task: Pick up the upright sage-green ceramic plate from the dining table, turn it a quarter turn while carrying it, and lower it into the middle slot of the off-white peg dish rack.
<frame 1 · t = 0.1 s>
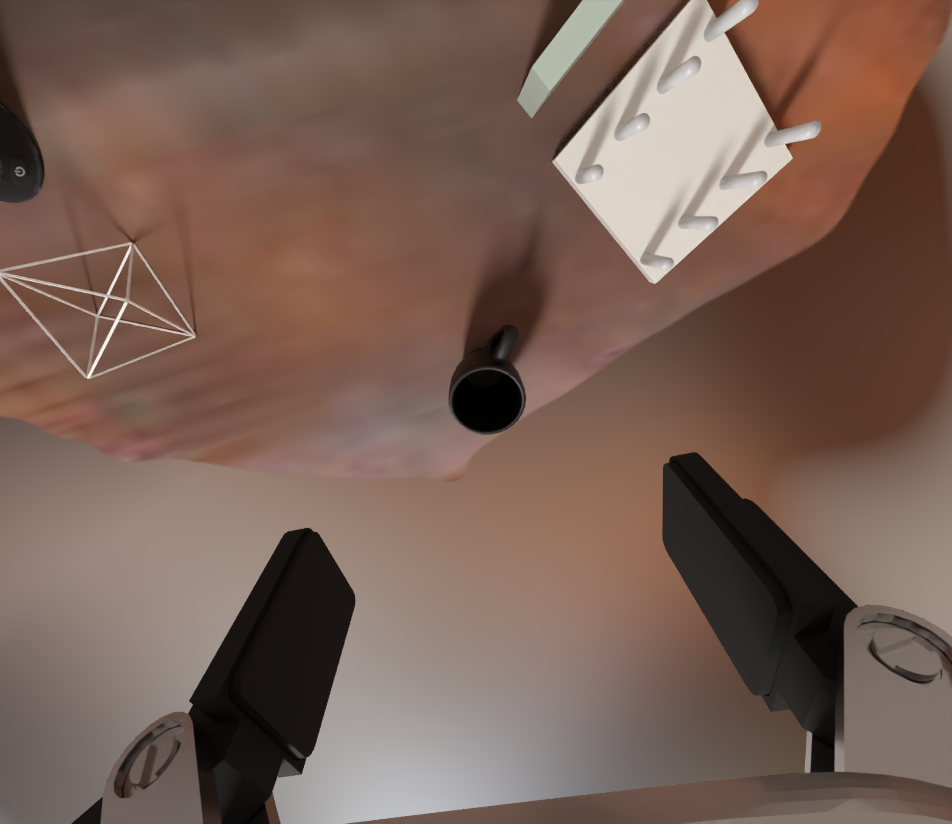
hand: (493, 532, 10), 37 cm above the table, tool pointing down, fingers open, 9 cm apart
dish rack: (667, 160, 37), on the table
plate: (581, 36, 33), on the table
mug: (488, 355, 47), on the table
geometric polyhedron: (145, 299, 43), on the table
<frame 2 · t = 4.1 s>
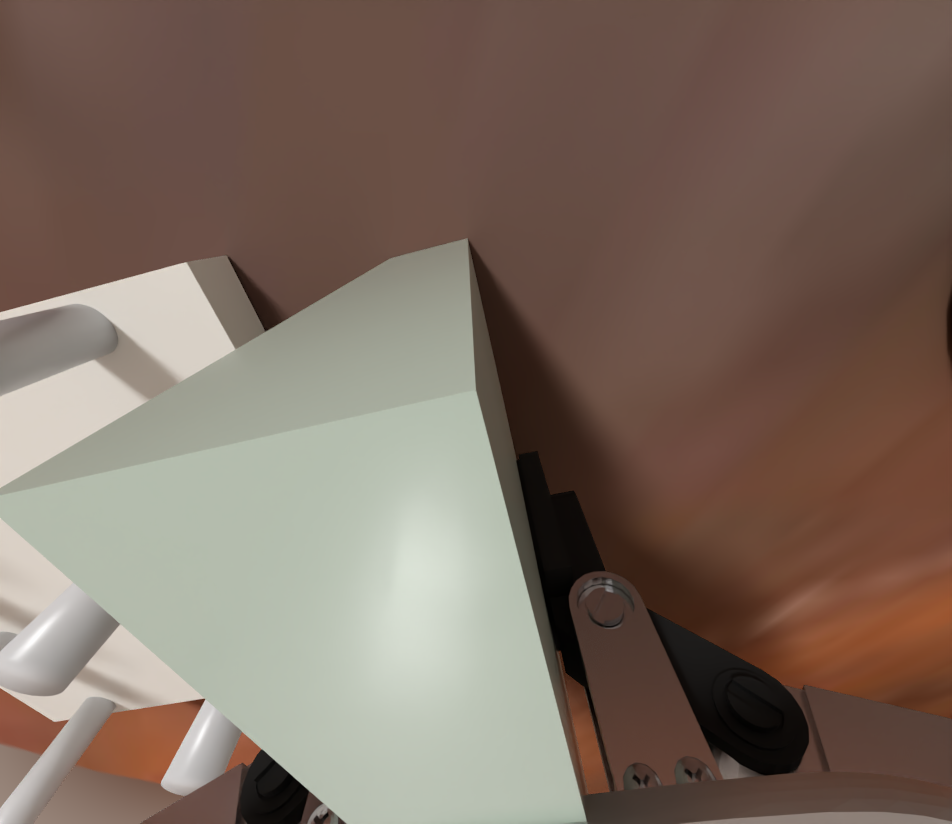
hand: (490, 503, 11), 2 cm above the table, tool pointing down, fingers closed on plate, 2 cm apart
dish rack: (132, 539, 14), on the table
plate: (488, 468, 13), on the table, touching gripper
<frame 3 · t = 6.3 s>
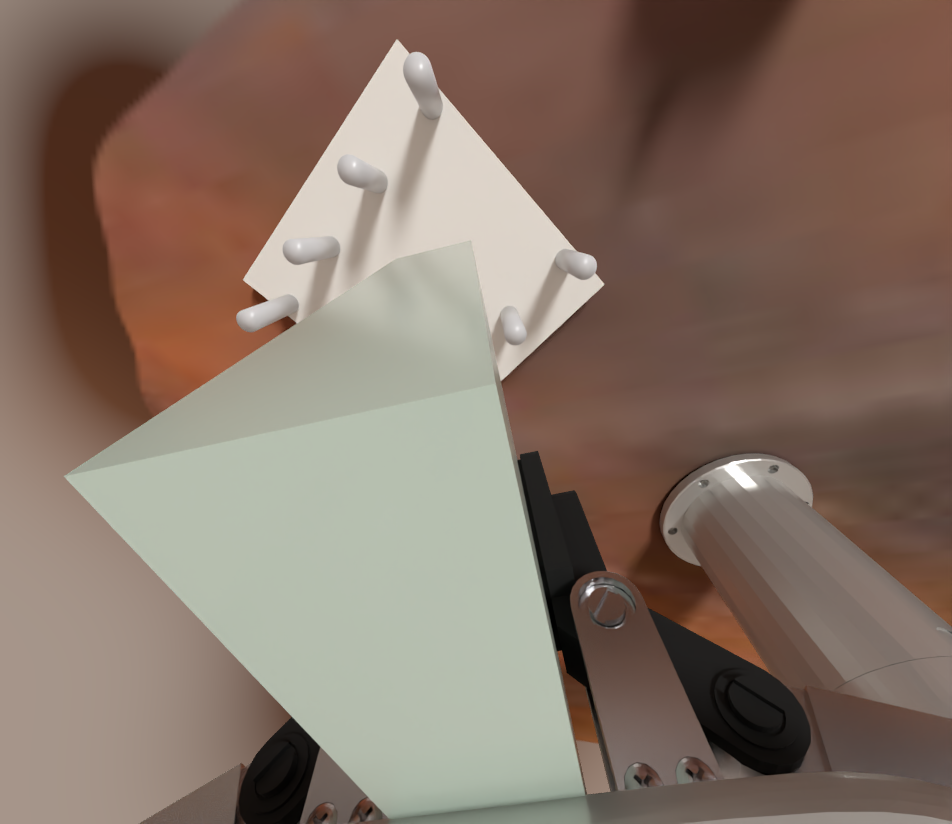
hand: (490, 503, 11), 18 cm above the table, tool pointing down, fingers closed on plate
dish rack: (426, 279, 25), on the table
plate: (488, 465, 13), point 16 cm above the table, touching gripper
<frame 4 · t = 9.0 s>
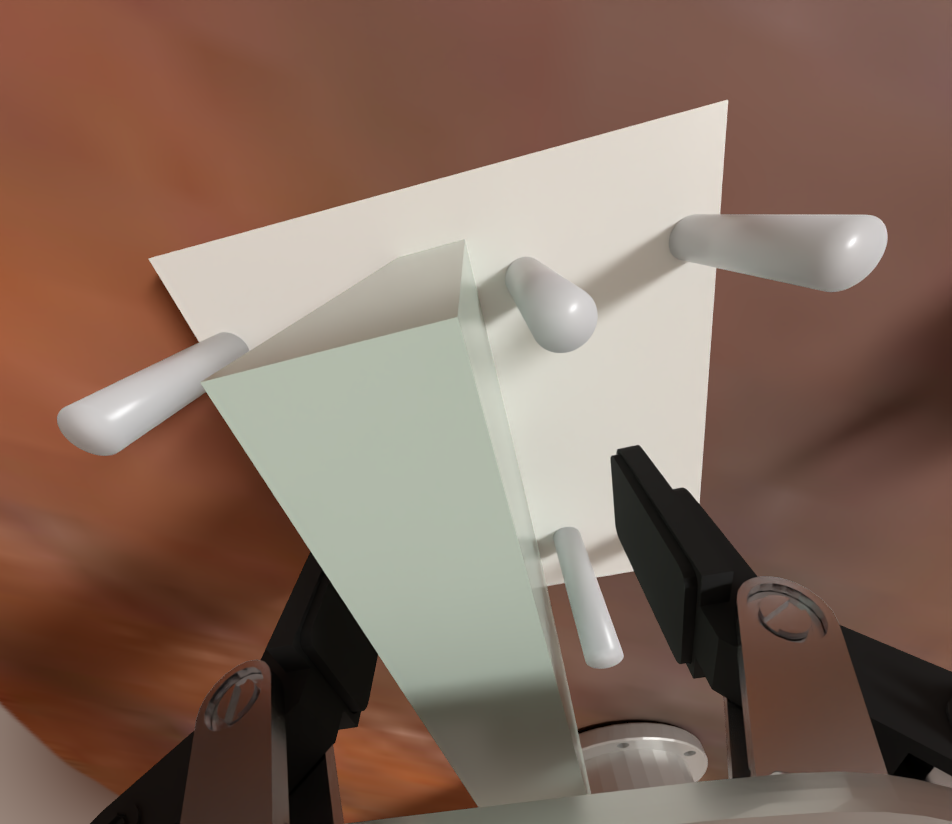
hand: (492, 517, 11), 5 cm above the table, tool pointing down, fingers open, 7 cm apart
dish rack: (484, 424, 15), on the table
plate: (486, 446, 14), point 2 cm above the table, touching dish rack
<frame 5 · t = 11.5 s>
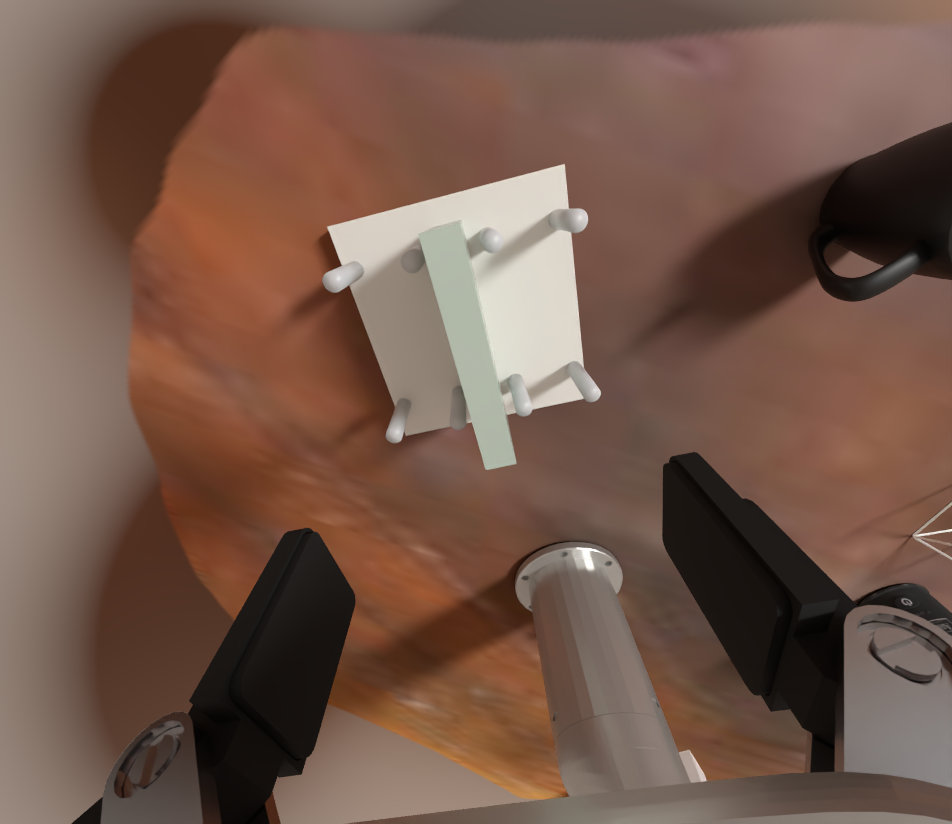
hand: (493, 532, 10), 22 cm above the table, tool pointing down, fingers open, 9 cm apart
dish rack: (471, 317, 30), on the table
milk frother: (874, 622, 51), on the table
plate: (472, 323, 28), point 1 cm above the table, touching dish rack
mug: (830, 218, 27), on the table
milk: (666, 767, 72), on the table
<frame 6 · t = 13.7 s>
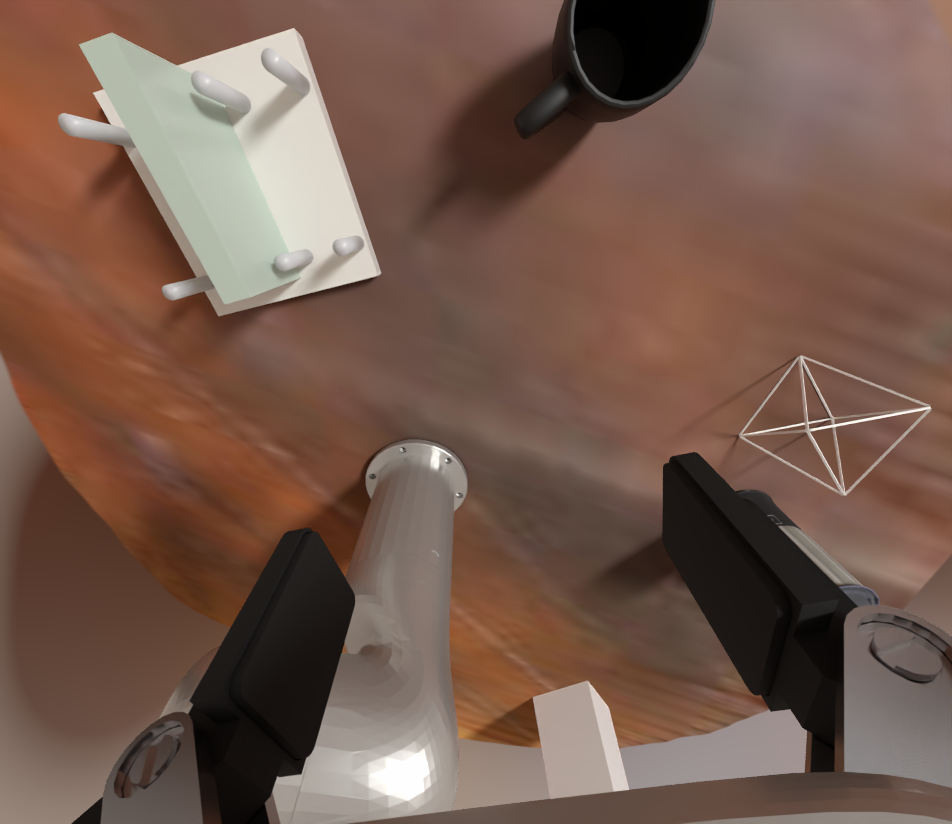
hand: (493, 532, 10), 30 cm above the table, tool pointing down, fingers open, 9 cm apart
dish rack: (259, 194, 32), on the table
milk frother: (730, 534, 53), on the table
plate: (251, 194, 31), point 1 cm above the table, touching dish rack
mug: (568, 92, 30), on the table
milk: (571, 701, 74), on the table
geometric polyhedron: (787, 403, 43), on the table
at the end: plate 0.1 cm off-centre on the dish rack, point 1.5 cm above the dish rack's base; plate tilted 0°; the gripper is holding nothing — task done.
